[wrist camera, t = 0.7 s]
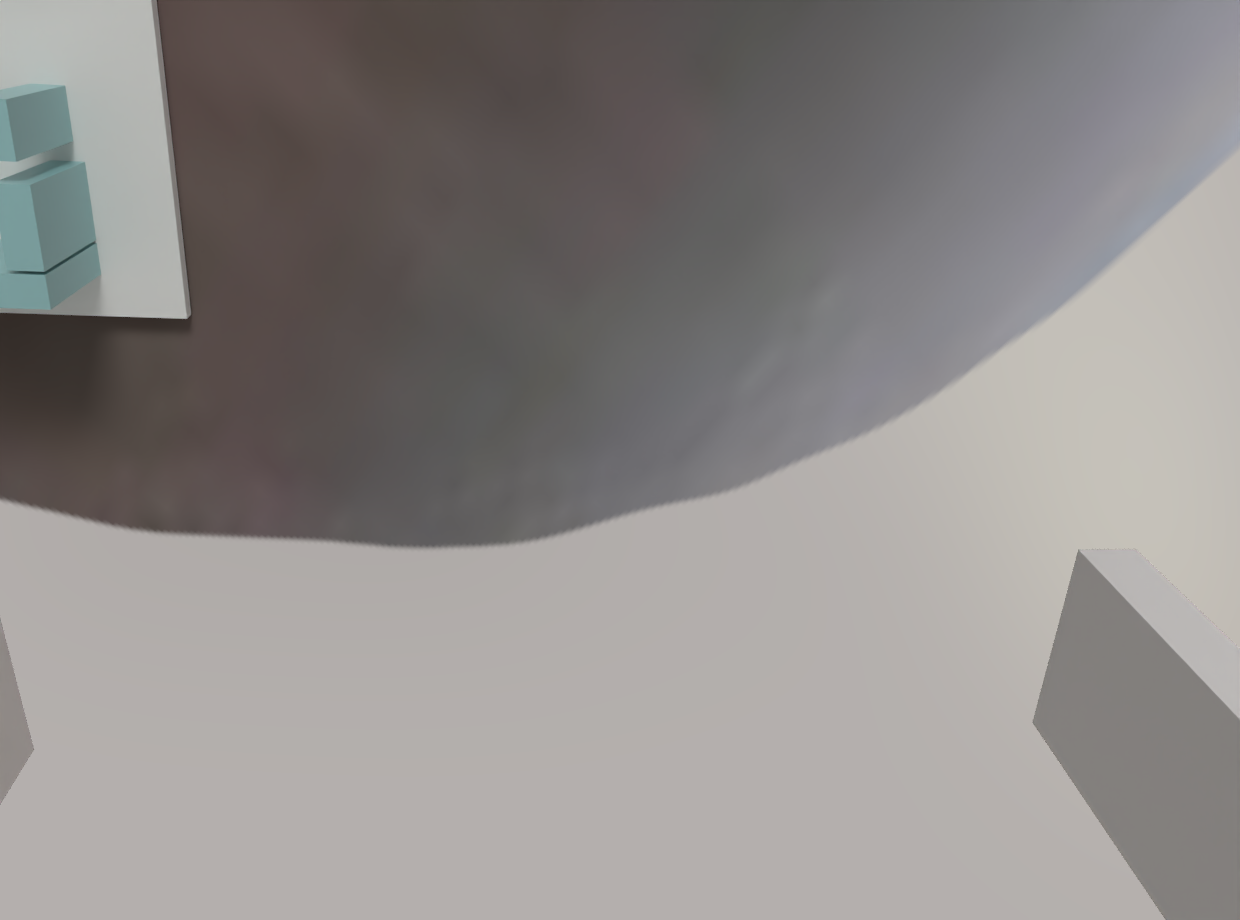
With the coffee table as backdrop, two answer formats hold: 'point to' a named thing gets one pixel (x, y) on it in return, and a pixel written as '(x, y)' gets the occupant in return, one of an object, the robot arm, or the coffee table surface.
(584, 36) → the coffee table surface
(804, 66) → the coffee table surface
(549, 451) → the coffee table surface
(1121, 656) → the robot arm
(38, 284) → the board
